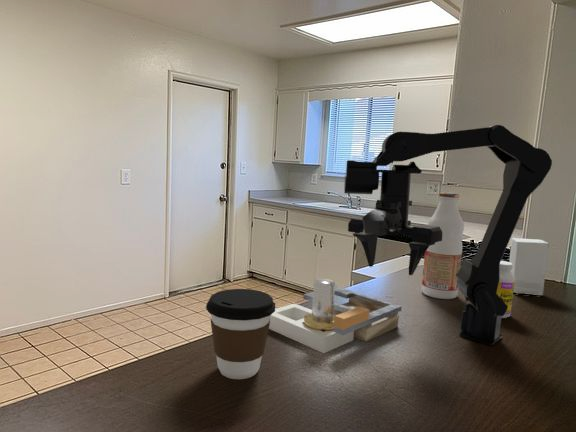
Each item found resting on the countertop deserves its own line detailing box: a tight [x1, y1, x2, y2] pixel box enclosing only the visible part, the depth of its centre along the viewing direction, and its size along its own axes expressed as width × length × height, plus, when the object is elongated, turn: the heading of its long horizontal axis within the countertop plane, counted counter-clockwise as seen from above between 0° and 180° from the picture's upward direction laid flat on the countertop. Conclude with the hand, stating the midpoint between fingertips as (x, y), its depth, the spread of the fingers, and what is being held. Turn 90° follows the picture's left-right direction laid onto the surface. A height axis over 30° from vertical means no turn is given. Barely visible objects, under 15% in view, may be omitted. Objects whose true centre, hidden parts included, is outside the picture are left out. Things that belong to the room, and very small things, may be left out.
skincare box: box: [508, 237, 550, 296], centre depth 122 cm, size 8×7×16 cm
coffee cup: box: [205, 288, 276, 380], centre depth 68 cm, size 11×11×12 cm
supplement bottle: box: [497, 260, 515, 319], centre depth 102 cm, size 7×7×13 cm
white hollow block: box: [269, 303, 354, 354], centre depth 84 cm, size 16×9×3 cm, turn 46°
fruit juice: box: [421, 191, 465, 300], centre depth 115 cm, size 9×9×28 cm
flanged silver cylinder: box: [304, 278, 336, 332], centre depth 82 cm, size 7×7×11 cm
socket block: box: [333, 297, 399, 342], centre depth 90 cm, size 12×12×4 cm
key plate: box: [302, 285, 403, 335], centre depth 88 cm, size 18×20×3 cm
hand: (390, 270), depth 88 cm, fingers open, 9 cm apart
